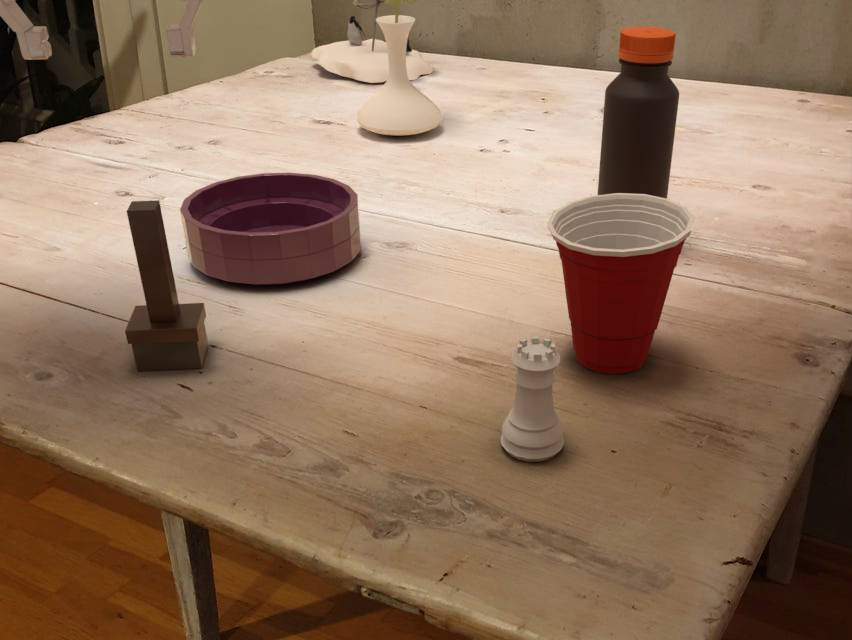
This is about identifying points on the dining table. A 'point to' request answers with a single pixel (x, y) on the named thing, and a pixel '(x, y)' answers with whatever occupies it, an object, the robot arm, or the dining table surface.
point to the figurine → (366, 55)
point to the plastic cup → (617, 273)
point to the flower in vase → (398, 87)
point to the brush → (161, 301)
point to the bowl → (271, 228)
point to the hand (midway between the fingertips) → (111, 56)
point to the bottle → (640, 116)
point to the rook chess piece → (533, 404)
